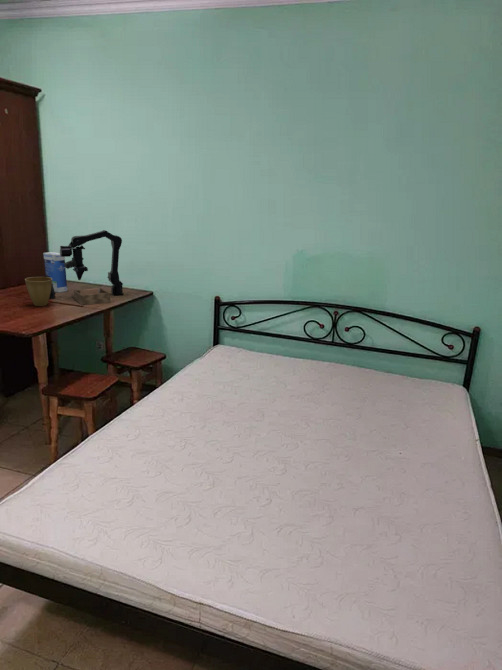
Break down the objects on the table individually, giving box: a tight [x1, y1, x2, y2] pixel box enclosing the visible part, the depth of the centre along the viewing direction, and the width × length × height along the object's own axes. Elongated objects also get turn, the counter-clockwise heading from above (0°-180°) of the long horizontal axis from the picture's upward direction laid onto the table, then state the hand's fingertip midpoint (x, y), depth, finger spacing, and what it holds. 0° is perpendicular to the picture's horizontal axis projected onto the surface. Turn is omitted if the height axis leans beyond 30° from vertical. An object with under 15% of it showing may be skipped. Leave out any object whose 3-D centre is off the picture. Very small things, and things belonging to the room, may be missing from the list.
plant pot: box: [24, 276, 52, 307], centre depth 282 cm, size 15×15×16 cm
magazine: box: [43, 274, 57, 300], centre depth 300 cm, size 4×13×15 cm, turn 92°
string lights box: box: [42, 251, 68, 293], centre depth 319 cm, size 13×8×26 cm, turn 58°
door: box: [79, 287, 101, 295], centre depth 305 cm, size 12×1×6 cm, turn 127°
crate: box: [73, 287, 111, 306], centre depth 298 cm, size 18×16×6 cm
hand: (79, 280), depth 304 cm, fingers closed
